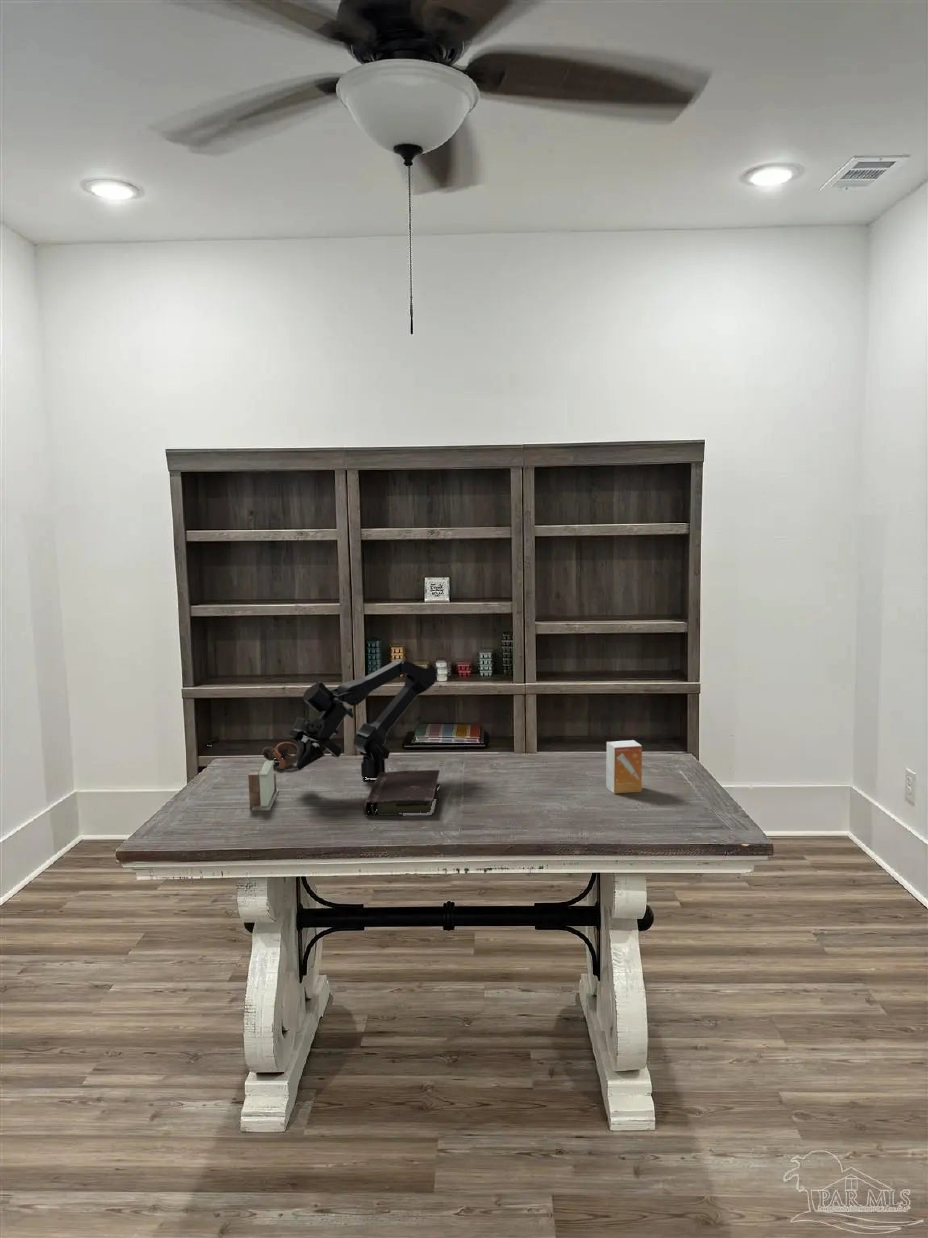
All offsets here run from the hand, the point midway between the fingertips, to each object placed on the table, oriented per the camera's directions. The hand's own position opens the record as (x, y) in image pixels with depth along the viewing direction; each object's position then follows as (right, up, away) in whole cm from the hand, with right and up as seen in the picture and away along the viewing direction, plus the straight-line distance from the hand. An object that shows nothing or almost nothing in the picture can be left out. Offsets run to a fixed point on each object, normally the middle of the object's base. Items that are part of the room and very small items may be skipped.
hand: (297, 769), depth 237 cm
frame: (-9, -8, -2) cm, 12 cm away
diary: (+30, -8, -4) cm, 31 cm away
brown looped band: (-11, -5, +31) cm, 33 cm away
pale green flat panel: (-7, -7, -3) cm, 11 cm away
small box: (+89, -6, +2) cm, 89 cm away
